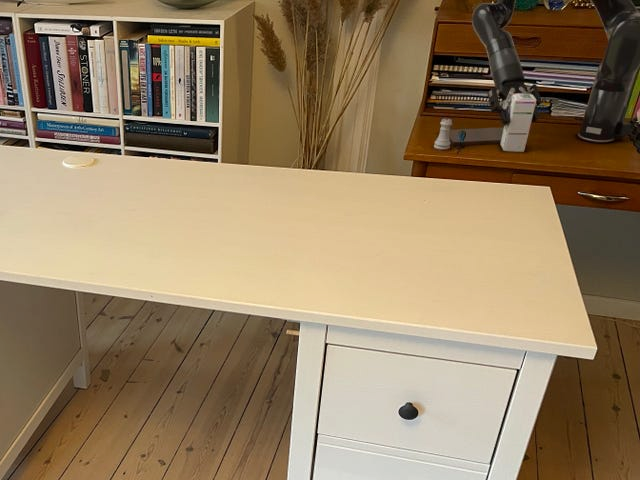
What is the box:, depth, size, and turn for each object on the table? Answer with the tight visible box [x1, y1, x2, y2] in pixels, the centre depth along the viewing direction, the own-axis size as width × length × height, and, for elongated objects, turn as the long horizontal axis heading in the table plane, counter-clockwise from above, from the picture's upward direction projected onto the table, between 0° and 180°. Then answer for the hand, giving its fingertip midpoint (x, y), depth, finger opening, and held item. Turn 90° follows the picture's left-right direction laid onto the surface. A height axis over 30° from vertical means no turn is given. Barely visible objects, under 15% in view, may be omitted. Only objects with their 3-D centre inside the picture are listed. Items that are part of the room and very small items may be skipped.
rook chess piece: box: [433, 118, 453, 151], centre depth 209 cm, size 4×4×8 cm
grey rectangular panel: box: [449, 126, 504, 147], centre depth 217 cm, size 20×11×1 cm, turn 93°
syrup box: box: [499, 93, 536, 153], centre depth 205 cm, size 6×6×14 cm
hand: (521, 122), depth 203 cm, fingers open, 8 cm apart
